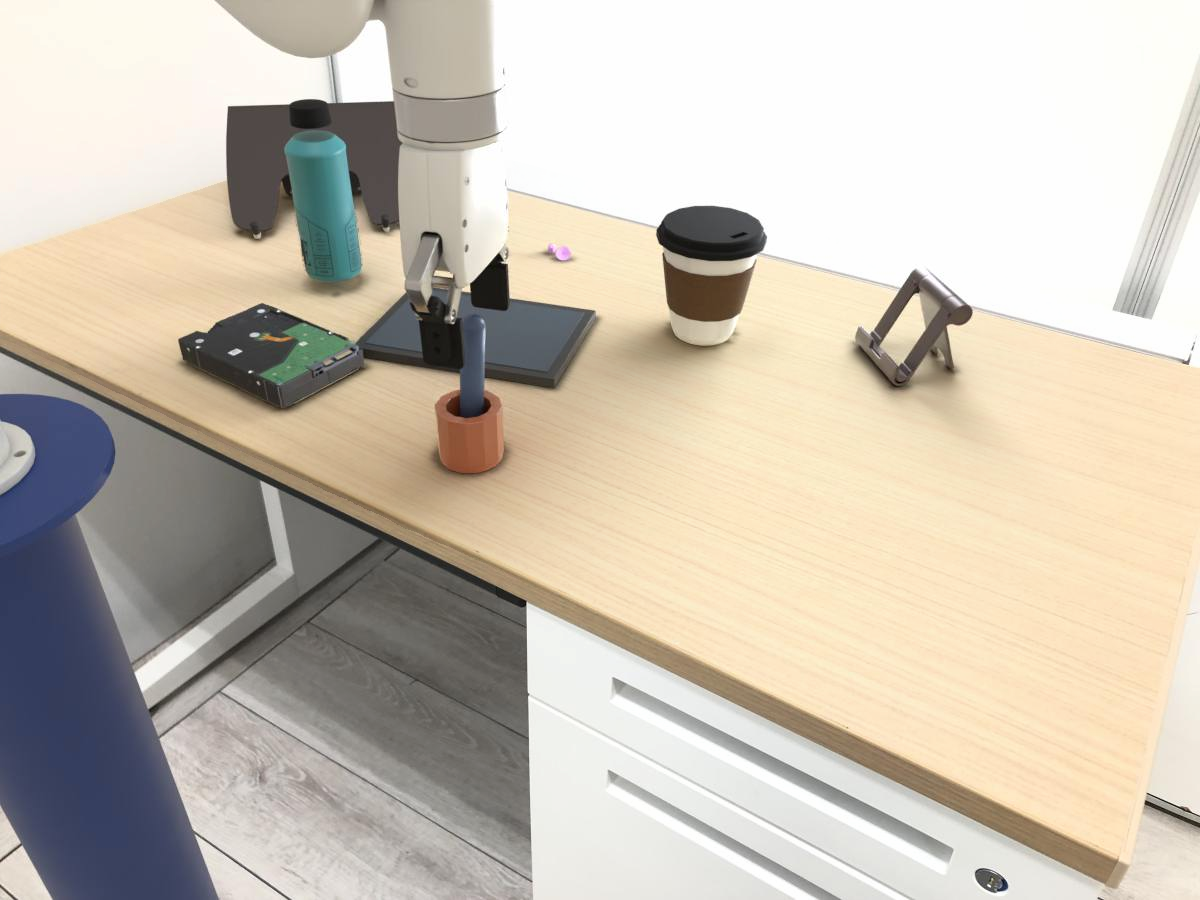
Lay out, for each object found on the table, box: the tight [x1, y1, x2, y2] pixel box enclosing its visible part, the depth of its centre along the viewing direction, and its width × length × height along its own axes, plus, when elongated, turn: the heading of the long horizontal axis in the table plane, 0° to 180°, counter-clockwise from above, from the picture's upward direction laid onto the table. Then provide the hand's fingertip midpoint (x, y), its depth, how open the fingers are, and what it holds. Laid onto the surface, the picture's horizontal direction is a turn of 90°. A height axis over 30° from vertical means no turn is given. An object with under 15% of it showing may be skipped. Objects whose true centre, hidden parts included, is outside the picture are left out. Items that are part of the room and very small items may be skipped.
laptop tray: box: [225, 100, 402, 240], centre depth 126 cm, size 23×23×9 cm
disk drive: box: [177, 302, 365, 409], centre depth 92 cm, size 10×3×15 cm
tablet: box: [355, 287, 597, 389], centre depth 99 cm, size 15×21×1 cm
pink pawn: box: [547, 243, 572, 261], centre depth 116 cm, size 3×2×2 cm
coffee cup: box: [655, 205, 768, 347], centre depth 98 cm, size 11×11×12 cm
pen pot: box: [434, 389, 505, 474], centre depth 80 cm, size 5×5×5 cm
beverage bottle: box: [284, 98, 363, 283], centre depth 103 cm, size 6×7×20 cm
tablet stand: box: [854, 266, 974, 387], centre depth 94 cm, size 9×8×8 cm
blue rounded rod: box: [459, 314, 486, 418], centre depth 79 cm, size 2×2×12 cm
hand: (469, 334), depth 75 cm, fingers open, 9 cm apart
